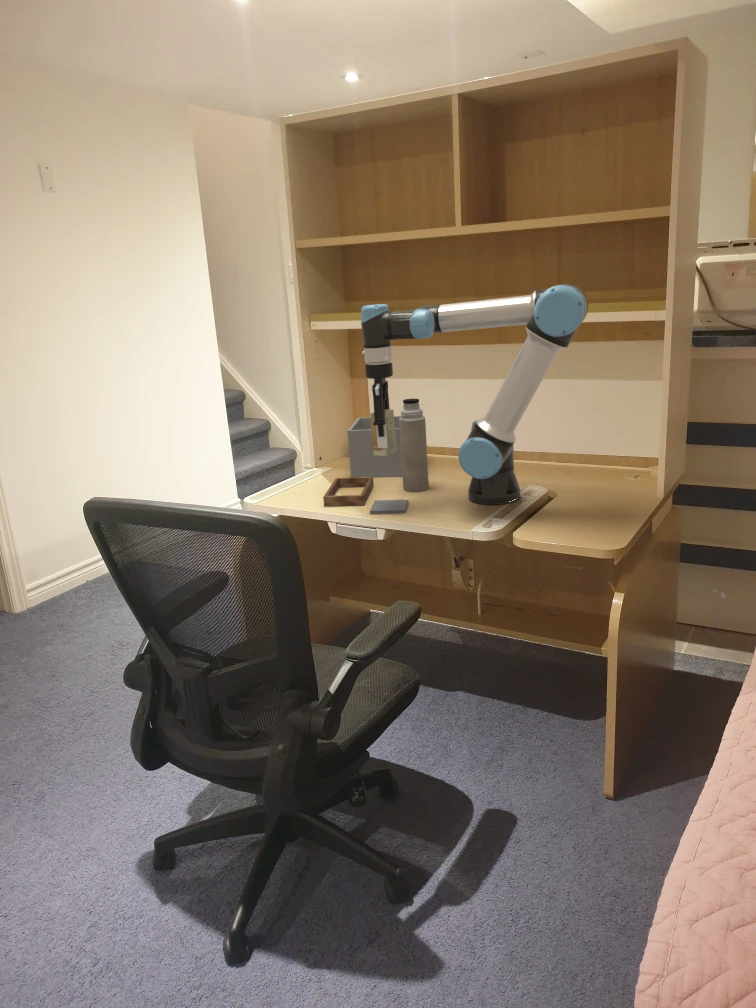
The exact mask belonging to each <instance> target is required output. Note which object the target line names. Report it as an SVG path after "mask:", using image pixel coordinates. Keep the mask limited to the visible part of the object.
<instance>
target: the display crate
mask: <svg viewBox="0 0 756 1008" xmlns="http://www.w3.org/2000/svg"><path fill="white" fill-rule="evenodd" d="M399 418H401V415H394V422H395V435H396V447H397V451H396V452H394V453H392V454H390V455H388V456H376V455H374V452H373V440H372V428H371V417H370V416H369V417H357V418H356V419H355V420H354V421H353V423H352V425H351V426H350V427H349V428H348V430H347V441H348V442H347V443H348V454H349V466H350V467H349V468H350V477H373V478H387V477H403V476H402V460H401V444H400V428H399Z"/></svg>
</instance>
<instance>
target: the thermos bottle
mask: <svg viewBox="0 0 756 1008" xmlns="http://www.w3.org/2000/svg"><path fill="white" fill-rule="evenodd" d="M402 403H403V405H402V407H403V409H401V411H400V416H401V418H399V428H400V444H401V460H402V476H401V477H402V489H403V491H404V492H410V493H417V492H418V493H419V492H423V491H427V490H429V486H430V483H429V482H430V481H429V467H428V464H429V463H428V450H427V449H428V446H427V428H426V424H427V423H426V416H424V412H423V408H420V399H419V398H405V399H403V400H402Z"/></svg>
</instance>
